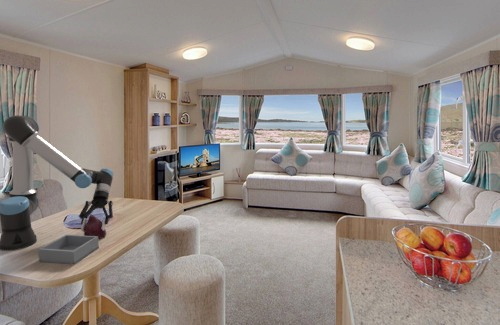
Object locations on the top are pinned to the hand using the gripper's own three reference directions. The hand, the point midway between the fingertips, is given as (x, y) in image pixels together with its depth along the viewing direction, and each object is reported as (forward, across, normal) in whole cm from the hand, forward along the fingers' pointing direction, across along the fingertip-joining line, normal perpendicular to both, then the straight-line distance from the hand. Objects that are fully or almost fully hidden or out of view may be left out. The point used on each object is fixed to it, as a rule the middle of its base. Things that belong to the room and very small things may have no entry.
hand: (92, 230), depth 152 cm
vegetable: (+1, 0, -6) cm, 6 cm away
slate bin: (+16, +4, +8) cm, 18 cm away
